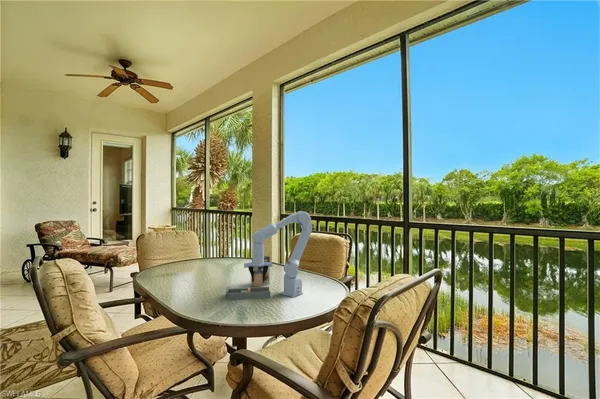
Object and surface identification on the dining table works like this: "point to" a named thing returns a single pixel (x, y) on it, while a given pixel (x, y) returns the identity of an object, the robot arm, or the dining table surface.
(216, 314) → the dining table surface
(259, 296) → the tray
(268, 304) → the dining table surface
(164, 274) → the dining table surface
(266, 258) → the coffee box
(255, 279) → the jar
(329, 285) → the dining table surface
